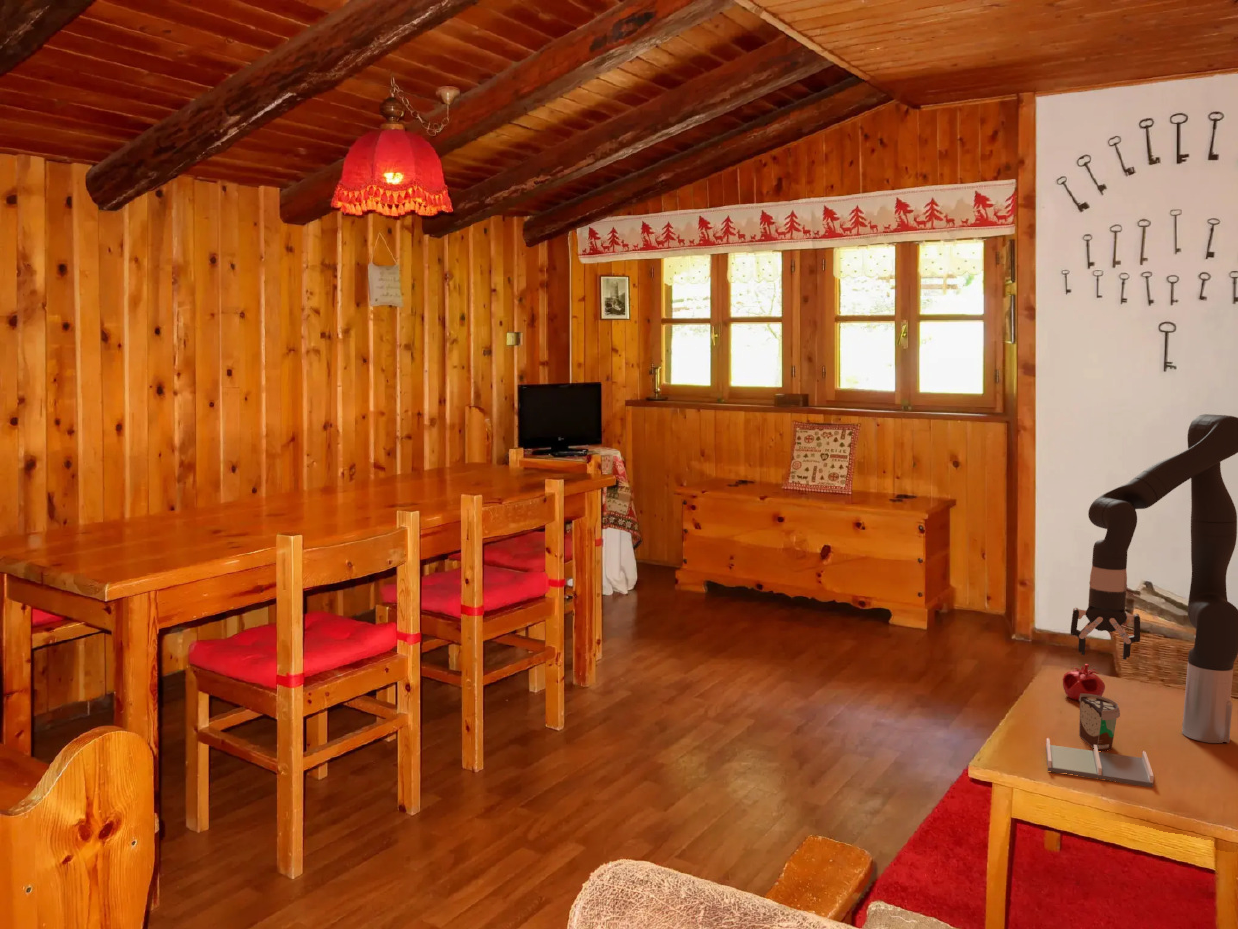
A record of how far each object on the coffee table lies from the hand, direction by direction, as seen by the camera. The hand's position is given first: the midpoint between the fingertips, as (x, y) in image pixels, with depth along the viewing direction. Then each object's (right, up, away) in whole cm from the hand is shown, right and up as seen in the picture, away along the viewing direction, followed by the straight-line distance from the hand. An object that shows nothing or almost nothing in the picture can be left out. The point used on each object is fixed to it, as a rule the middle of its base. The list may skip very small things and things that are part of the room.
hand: (1103, 656), depth 234 cm
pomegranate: (+10, -17, +33) cm, 38 cm away
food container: (0, -21, +1) cm, 21 cm away
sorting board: (-7, -22, -12) cm, 26 cm away
